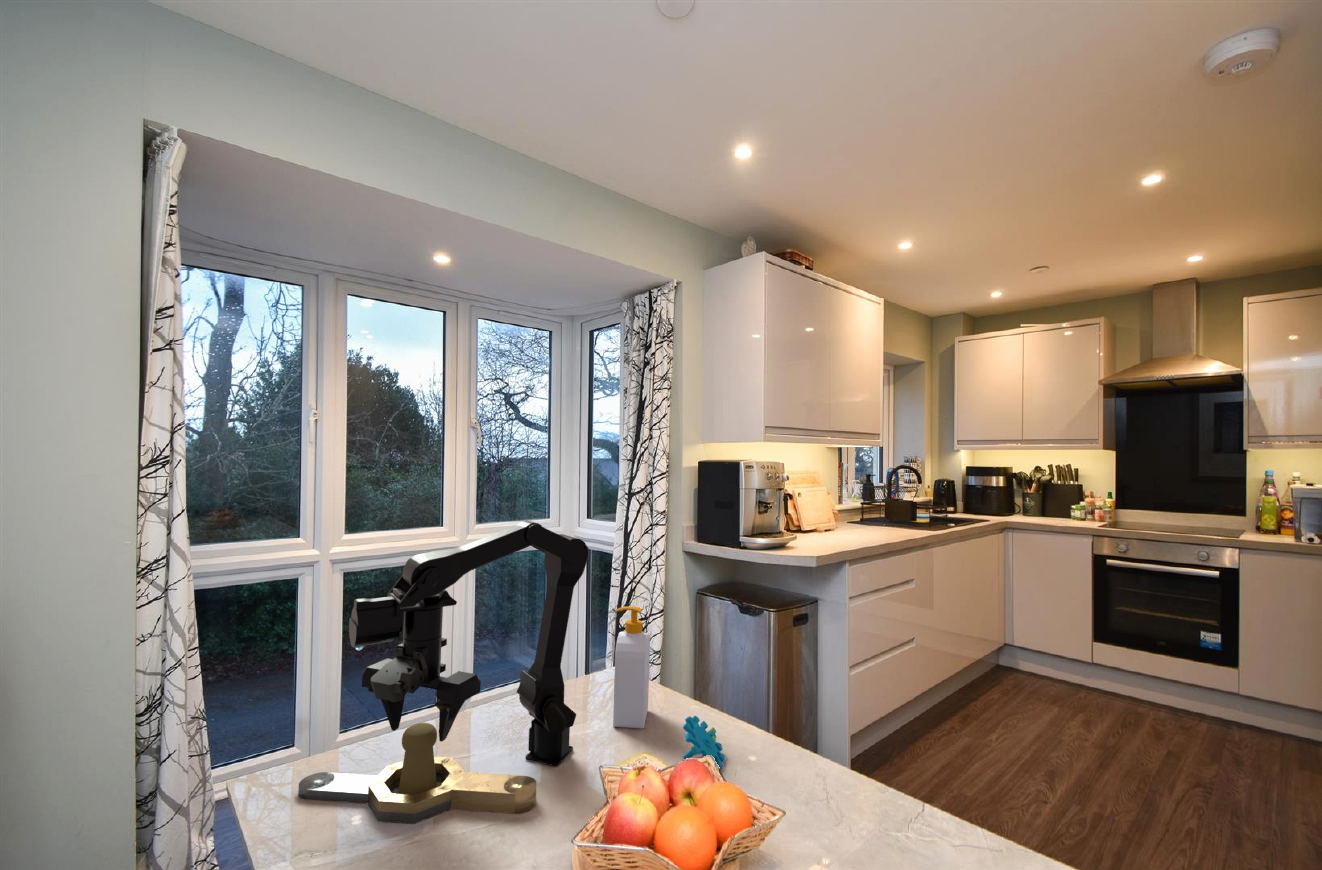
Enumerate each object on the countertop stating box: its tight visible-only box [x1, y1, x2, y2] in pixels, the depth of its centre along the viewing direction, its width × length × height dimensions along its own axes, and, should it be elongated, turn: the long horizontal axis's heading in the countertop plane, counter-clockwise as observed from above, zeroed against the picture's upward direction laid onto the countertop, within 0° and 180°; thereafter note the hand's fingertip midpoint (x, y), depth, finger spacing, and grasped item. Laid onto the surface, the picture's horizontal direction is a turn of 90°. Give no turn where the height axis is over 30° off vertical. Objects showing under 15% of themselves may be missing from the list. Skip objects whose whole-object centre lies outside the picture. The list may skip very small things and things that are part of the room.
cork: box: [397, 722, 438, 795], centre depth 93 cm, size 6×6×11 cm
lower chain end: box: [297, 771, 452, 825], centre depth 94 cm, size 26×13×2 cm, turn 86°
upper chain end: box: [368, 755, 538, 815], centre depth 93 cm, size 26×13×3 cm, turn 86°
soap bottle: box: [612, 605, 651, 729], centre depth 123 cm, size 9×7×23 cm
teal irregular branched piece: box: [682, 715, 726, 769], centre depth 107 cm, size 11×6×10 cm
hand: (418, 735), depth 93 cm, fingers open, 9 cm apart
